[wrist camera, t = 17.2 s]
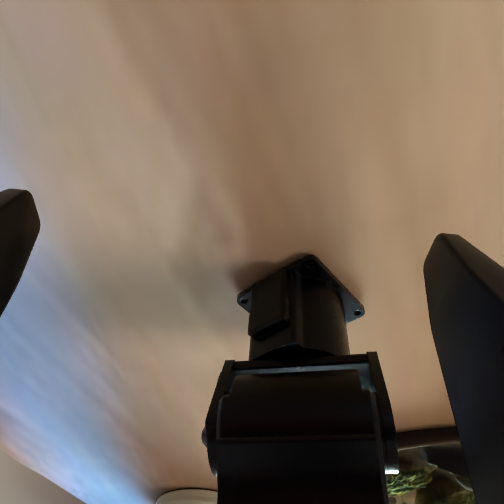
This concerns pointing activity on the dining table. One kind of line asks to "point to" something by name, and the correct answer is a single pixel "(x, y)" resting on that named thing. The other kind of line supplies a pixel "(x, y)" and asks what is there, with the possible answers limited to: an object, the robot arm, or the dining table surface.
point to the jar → (189, 497)
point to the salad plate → (430, 469)
